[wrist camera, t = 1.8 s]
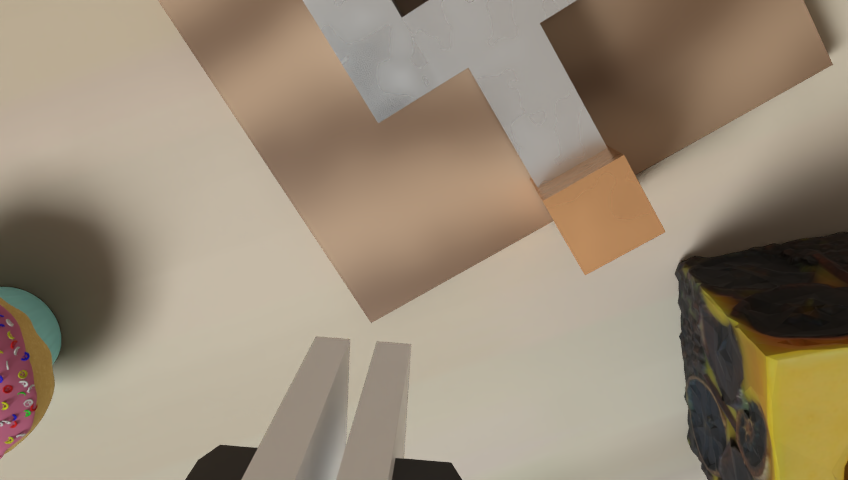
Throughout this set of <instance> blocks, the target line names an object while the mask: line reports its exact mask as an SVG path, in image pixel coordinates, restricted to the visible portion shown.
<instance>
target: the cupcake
mask: <svg viewBox="0 0 848 480" xmlns="http://www.w3.org/2000/svg"><path fill="white" fill-rule="evenodd" d="M60 348H61V332H60V328H59V325H58V322H57V320H56V318H55V316H54V314H53V313H52V311H51V310H50V309H49V308H48V306H47V305H46V304H45V303H44V302H42V301H41V300H40V299H39V298H37V297H36V296H34V295H33V294H31V293H29V292H27V291H24V290H21V289H18V288H13V287H0V459H1V458H2V457H3V455H4V454H6V453H7V452H9V451H10V450H12V449H13V448H14V447H16V446H17V445H18V444H19V443H20V442H21V441H23V440H24V439H25V438H26V437H27V436H28V435H29V434H30V433H31V432H32V430H33V429H34V428H35V427H36V426H37V424H38V423H39V422H40V420H41V419H42V417H43V416H44V414H45V412H46V410H47V408H48V406H49V404H50V401H51V399H52V396H53V392H54V386H55V382H54V375H53V370H52V366H53V364H54V362H55V361H56V359H57V357H58V355H59V352H60Z"/></svg>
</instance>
